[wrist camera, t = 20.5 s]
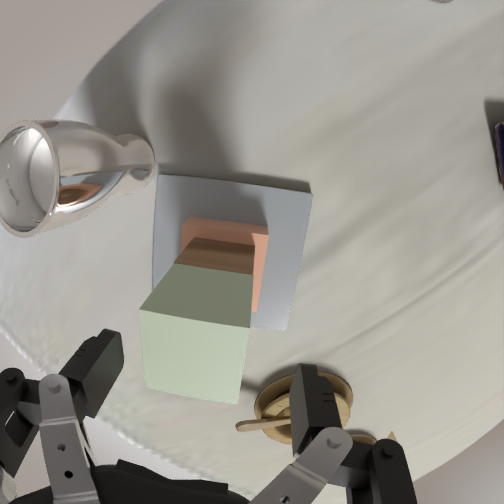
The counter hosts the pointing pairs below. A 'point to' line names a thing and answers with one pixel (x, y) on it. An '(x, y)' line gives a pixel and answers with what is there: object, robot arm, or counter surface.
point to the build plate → (241, 209)
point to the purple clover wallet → (500, 148)
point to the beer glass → (65, 172)
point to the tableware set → (278, 410)
